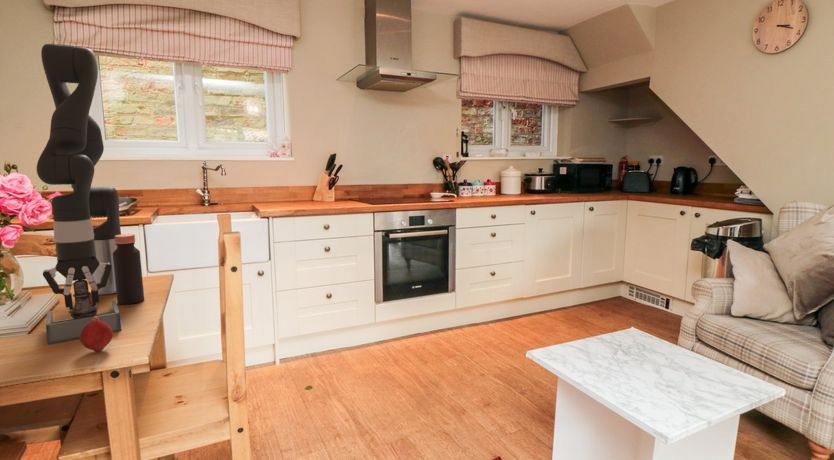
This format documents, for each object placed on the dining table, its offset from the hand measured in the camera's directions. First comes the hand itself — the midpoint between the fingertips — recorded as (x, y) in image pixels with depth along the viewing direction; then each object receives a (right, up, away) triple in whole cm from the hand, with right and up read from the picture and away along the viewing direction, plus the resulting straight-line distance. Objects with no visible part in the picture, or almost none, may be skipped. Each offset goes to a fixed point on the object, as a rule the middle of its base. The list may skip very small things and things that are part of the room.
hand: (82, 306), depth 110 cm
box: (0, -6, +1) cm, 6 cm away
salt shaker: (0, -4, +1) cm, 5 cm away
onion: (+12, -8, -12) cm, 19 cm away
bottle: (-3, -3, +23) cm, 23 cm away
